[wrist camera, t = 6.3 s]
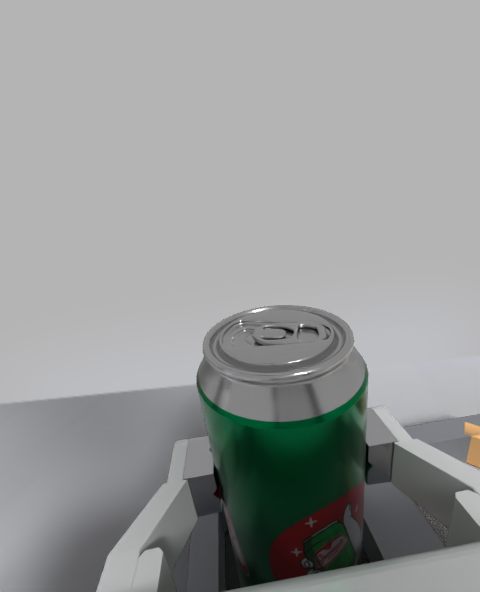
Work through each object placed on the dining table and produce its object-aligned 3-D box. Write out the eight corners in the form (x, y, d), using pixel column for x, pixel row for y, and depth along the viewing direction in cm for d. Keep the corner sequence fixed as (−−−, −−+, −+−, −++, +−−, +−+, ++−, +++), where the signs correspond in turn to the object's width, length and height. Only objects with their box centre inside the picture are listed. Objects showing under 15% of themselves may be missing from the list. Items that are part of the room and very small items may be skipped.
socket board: (184, 823, 7) (168, 800, 6) (202, 487, 16) (196, 463, 15) (784, 686, 8) (823, 652, 7) (485, 437, 16) (491, 411, 16)
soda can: (252, 502, 14) (219, 303, 11) (349, 518, 13) (351, 297, 9) (228, 645, 10) (153, 382, 6) (375, 692, 8) (398, 393, 5)
